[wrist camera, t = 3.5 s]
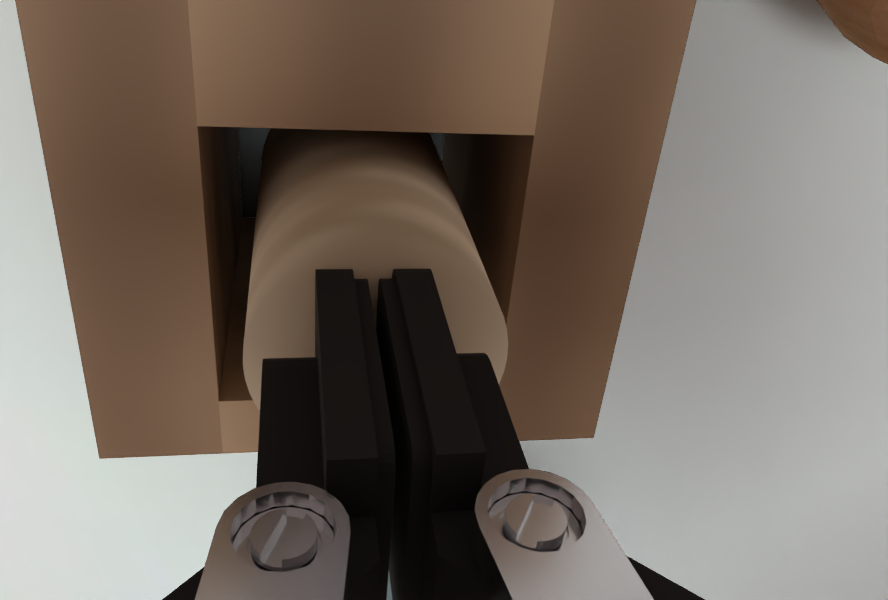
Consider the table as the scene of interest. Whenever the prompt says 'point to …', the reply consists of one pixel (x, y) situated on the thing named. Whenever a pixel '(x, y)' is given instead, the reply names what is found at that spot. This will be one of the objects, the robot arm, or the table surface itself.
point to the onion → (861, 23)
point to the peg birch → (358, 238)
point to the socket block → (341, 108)
